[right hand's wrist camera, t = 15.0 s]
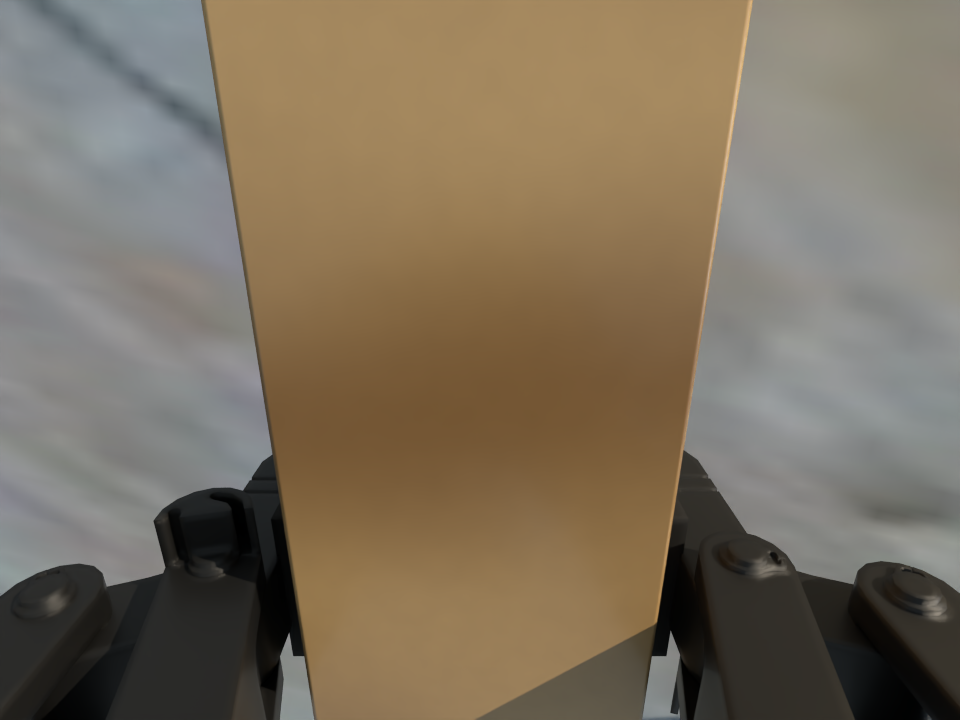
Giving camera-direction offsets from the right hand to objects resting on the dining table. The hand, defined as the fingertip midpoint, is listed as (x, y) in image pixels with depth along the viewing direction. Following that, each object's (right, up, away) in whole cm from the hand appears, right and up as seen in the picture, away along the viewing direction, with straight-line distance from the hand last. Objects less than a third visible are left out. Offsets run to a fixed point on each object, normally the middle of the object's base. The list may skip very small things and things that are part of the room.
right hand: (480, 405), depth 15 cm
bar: (0, +8, -2) cm, 8 cm away
